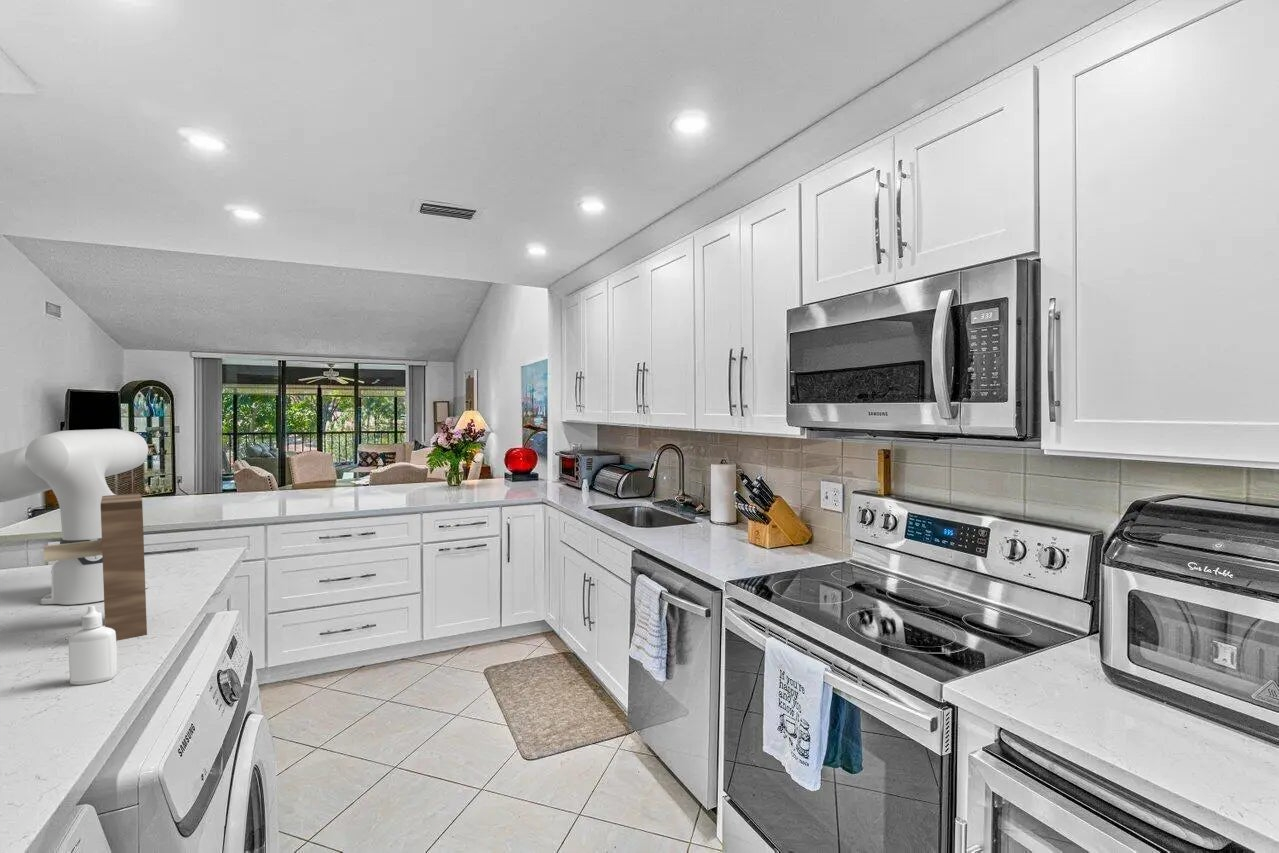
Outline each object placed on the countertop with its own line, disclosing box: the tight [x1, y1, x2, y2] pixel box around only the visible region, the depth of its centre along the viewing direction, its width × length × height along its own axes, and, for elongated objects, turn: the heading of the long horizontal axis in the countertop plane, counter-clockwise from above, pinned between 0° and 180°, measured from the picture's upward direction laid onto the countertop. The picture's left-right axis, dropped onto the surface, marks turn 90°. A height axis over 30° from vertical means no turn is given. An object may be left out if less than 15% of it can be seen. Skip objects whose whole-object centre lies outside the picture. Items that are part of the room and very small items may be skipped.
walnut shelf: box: [101, 492, 148, 641], centre depth 121 cm, size 14×6×26 cm, turn 40°
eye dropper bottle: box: [68, 605, 118, 686], centre depth 98 cm, size 4×6×12 cm
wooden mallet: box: [43, 540, 102, 563], centre depth 118 cm, size 8×14×4 cm, turn 130°
